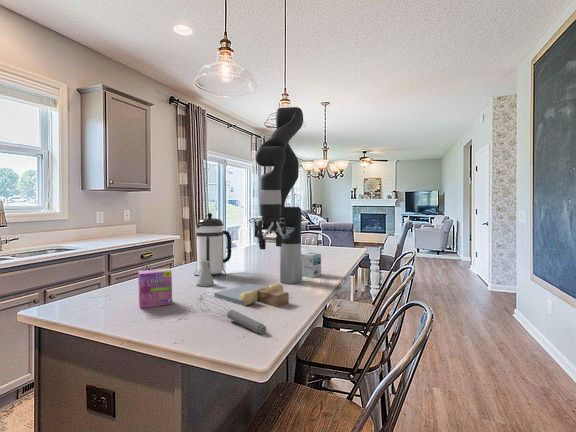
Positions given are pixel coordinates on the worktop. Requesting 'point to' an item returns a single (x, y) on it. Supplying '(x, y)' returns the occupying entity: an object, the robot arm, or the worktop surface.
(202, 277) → the flask
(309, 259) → the light bulb box
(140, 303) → the box
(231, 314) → the kitchen whisk
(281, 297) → the tan wooden beam
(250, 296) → the grey flat piece
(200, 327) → the worktop surface
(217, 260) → the coffee press
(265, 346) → the worktop surface
